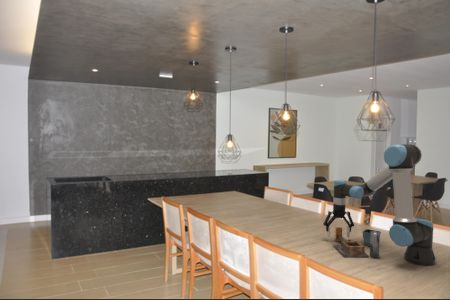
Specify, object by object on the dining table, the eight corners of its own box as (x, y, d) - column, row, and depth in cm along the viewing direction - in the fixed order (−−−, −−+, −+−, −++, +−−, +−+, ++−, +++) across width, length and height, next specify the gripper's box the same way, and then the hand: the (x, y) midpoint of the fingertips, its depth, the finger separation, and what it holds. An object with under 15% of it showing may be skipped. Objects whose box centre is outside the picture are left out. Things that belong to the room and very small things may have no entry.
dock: (355, 246, 210) (355, 237, 210) (368, 257, 191) (369, 247, 191) (333, 246, 210) (333, 237, 210) (344, 257, 191) (344, 247, 191)
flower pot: (366, 242, 220) (366, 228, 219) (380, 245, 214) (381, 231, 214) (361, 245, 213) (362, 231, 212) (376, 248, 207) (377, 234, 207)
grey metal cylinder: (376, 255, 196) (377, 231, 195) (380, 258, 191) (381, 233, 190) (368, 255, 196) (368, 231, 195) (371, 258, 191) (372, 233, 190)
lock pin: (340, 239, 223) (341, 226, 222) (352, 250, 202) (353, 236, 202) (334, 239, 223) (335, 226, 222) (345, 250, 202) (346, 236, 202)
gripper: (355, 203, 224) (354, 235, 225) (319, 202, 224) (318, 234, 225) (360, 205, 217) (359, 238, 218) (322, 204, 217) (321, 238, 218)
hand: (338, 236), depth 221 cm, fingers open, 12 cm apart
